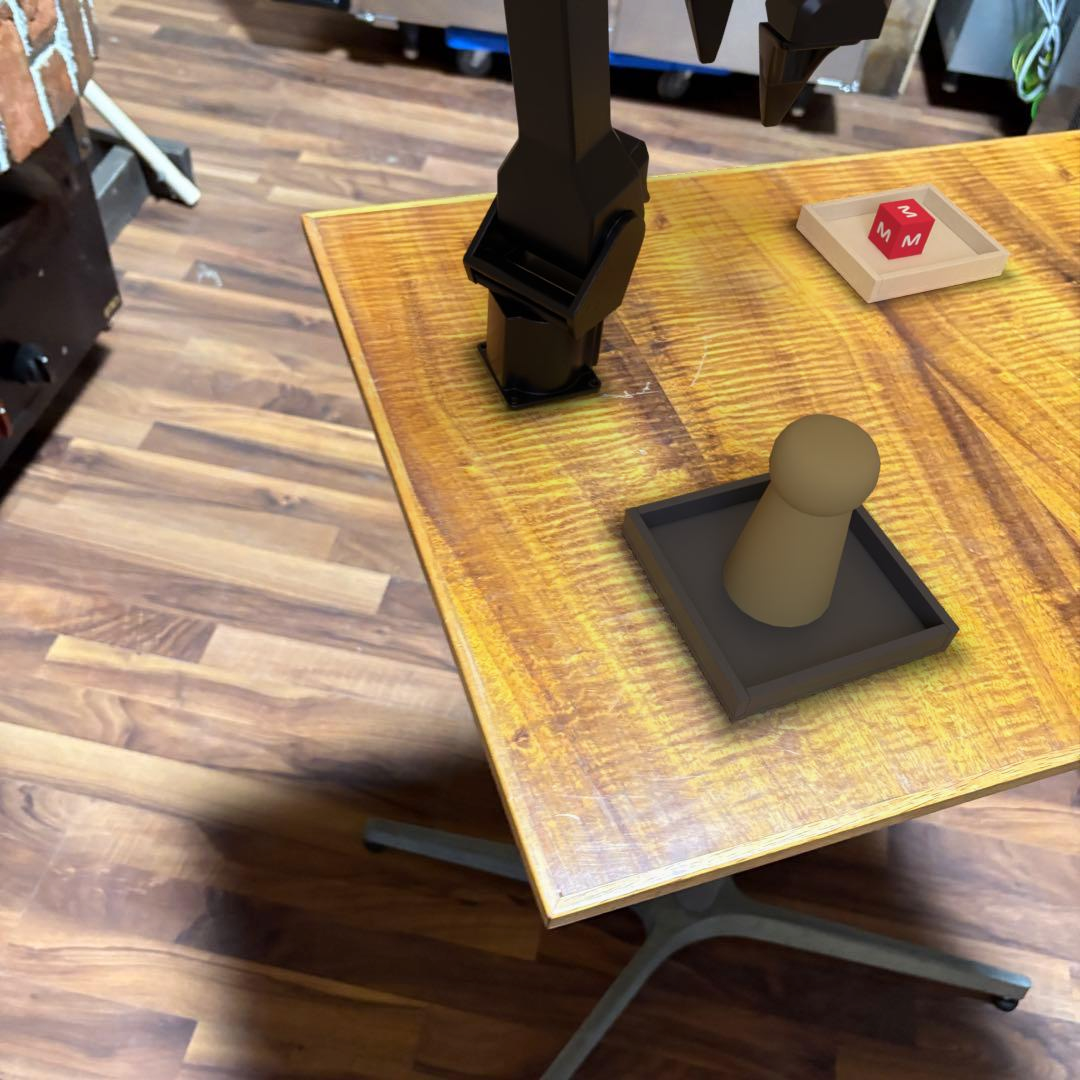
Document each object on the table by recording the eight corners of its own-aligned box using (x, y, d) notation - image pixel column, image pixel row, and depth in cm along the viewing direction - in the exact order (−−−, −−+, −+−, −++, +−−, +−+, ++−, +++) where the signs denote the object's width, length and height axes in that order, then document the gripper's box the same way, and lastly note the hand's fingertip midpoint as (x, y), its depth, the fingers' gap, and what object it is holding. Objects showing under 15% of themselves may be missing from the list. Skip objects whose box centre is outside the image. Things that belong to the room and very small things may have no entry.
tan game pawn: (830, 637, 54) (900, 496, 46) (717, 614, 55) (766, 470, 46) (832, 552, 58) (897, 408, 50) (727, 531, 58) (773, 385, 50)
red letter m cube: (921, 254, 78) (935, 219, 76) (888, 259, 78) (901, 225, 75) (899, 232, 80) (913, 198, 78) (867, 237, 79) (879, 203, 77)
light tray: (867, 303, 75) (876, 280, 73) (795, 227, 81) (802, 204, 79) (1000, 275, 78) (1011, 253, 77) (922, 204, 84) (931, 182, 83)
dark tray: (731, 722, 51) (740, 701, 49) (620, 531, 59) (625, 508, 57) (946, 650, 55) (960, 628, 53) (816, 480, 62) (825, 457, 61)
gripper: (1016, -128, 54) (913, 148, 66) (833, -226, 66) (773, 25, 77) (838, -122, 51) (763, 168, 63) (678, -226, 62) (639, 37, 74)
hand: (736, 92), depth 69 cm, fingers open, 9 cm apart
